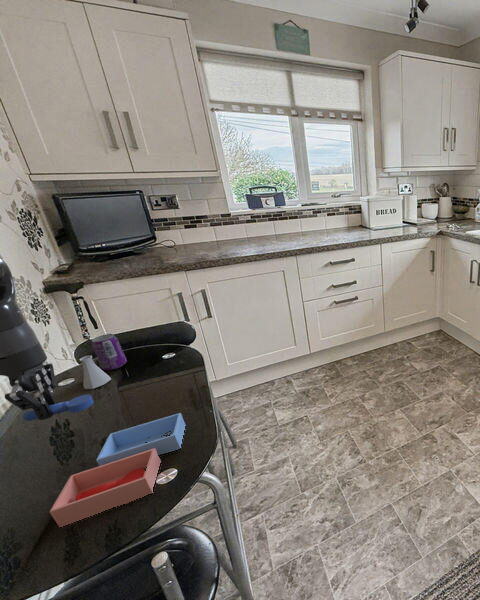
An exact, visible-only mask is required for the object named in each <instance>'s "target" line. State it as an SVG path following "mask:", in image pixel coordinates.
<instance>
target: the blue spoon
mask: <svg viewBox="0 0 480 600" xmlns="http://www.w3.org/2000/svg"><path fill="white" fill-rule="evenodd" d="M94 403H95V401H94V399H93V397H92V395H91V394H82V395H79V396H75V397H74V398H71V399H69V401H61V402H57V404H54V405H50V406H49V407H50V409H51V411H52V413H53V416H54V415H57V414H61V413H65V412H68V413H70V414H76V413H79V412H82V411H85V410H88V408H89V409H90V407H91V406H93V405H94ZM22 419H23V420H24V421H26V422H29V421H34V420H39V419H38V417H37V415H36V414H35V412H34V410H33V409H29V410H27V411H25V412H24V413H23V414H22Z"/></svg>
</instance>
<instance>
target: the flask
mask: <svg viewBox="0 0 480 600" xmlns="http://www.w3.org/2000/svg"><path fill="white" fill-rule="evenodd" d="M79 362H80V363H81V364H82V368H83V383H82V384H83V385H82V386H83V389H84V390H95V389H96V388H99V387H102V386H103V385H105V384H107V383H109V382H110V381H112V378H111V377H110V375H108V373H106V372H104V370H103V369H101V368H100V367H99V366H98V365H97V364H96V363H95V362H94V360H93V356H92V354H91V355H86V356H83V357H81V358H79Z"/></svg>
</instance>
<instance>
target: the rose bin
mask: <svg viewBox="0 0 480 600" xmlns="http://www.w3.org/2000/svg"><path fill="white" fill-rule="evenodd" d="M161 462H162V460H161V458H160V457H159V456H158V453H157V451H156V449H155V448H154V449H151V450H148V451H145V452H141V453H138V454H135V455H132V456H129V457H126V458H123V459H120V460H117V461H114V462H111V463H108V464H105V465H102V466H99V465H98V466H95V467H92V468H90V469H86V470H82V471H80V472H78V473H74V474H71V475H69V478H68V479H67V481H66V483H65V485H64V487H63V488H62V490H61V492H60V493H59V495H58V497H56V500H55V501H54V503H53V505H52V507H51V508H50V510H49V514H50V515H51V517H52V518H53V520H54V521H55V522H56V524H57V526H58V527H59V528H60V527H62V528H64V527H63V526H65V525H68V524H70V525H72V524H71V523H73V522H76V521H79V520H81V521H83V520H82V519H84V518H87V517H89V518H91V517H90V516H92V517H94V516H93V515H95V514H97V515H99V514H98V513H100V514H102V513H101V512H103V511H105V510H108V509H111V508H113V507H116V508H118V507H117V506H119V507H121V506H120V505H122V506H124V505H123V504H125V505H128V504H130V503H132V502H131V501H133V502H135V501H137V500H136V499H138V500H140V499H139V498H141V499H143V498H142V497H144V496H146V495H148V494H151V493H153V494H154V492H153V487H154V484H155V480H156V477H157V473H158V470H159V466H160V463H161ZM146 467H147V468H146ZM143 468H146V471H145V474H144V477H143V478H140V479H137V480H135V481H132V482H129V483H126V484H123V485H120V486H117V487H115V488H112V489H109V490H106V491H103V492H100V493H97V494H95V495H92V496H89V497H86V498H83V499H80V500H77V501H76V497H77V495H78V494H79V493H81V492H83V491H86V490H89V489H92V488H95V487H97V486H100V485H103V484H106V483H109V482H112V481H115V480H118V479H122V478H123V477H124V476H125V475H127V474H128V473H130V472H131V471H133V470H136V469H143ZM146 497H147V496H146ZM144 498H145V497H144ZM134 500H135V501H134ZM129 502H130V503H129ZM111 510H112V509H111ZM108 511H109V510H108ZM103 513H104V512H103ZM95 516H96V515H95ZM87 519H88V518H87ZM84 520H85V519H84ZM79 522H80V521H79ZM76 523H77V522H76ZM73 524H74V523H73ZM68 526H69V525H68ZM65 527H66V526H65Z"/></svg>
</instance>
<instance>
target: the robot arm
mask: <svg viewBox="0 0 480 600" xmlns="http://www.w3.org/2000/svg"><path fill="white" fill-rule="evenodd" d="M16 294H17V293H16V288H15V282H14V277H13V274H12V270H11V269H10V267H9V265H8V264H7V262H6V261H5V260H4V259H3V258H2V257H0V376H3V377H6V378H8V381H9V386H10V387H11V391H10V392H8V393H5V394H4V399H5V400H6V401H7V402H10V403H11V404H13V405H14V406H16V408H19V409H20V410H22V411H26V410H34V412H35V414H36V415H37V417H38V419H37V420H39V421H43V420H48V419H51V418H52V417H53V416H54V415H53V413H52V411H51V409H50V407H49V406H50V405H54V404H58V402H57V401H56V399H55V397H54V394H55V391H54V389H55V390H56V388H57V381H56V375H55V369H54V364H53V363H52V362H51V363H46V364H44V363H45V362H46V361H47V360H48V356H47V354H46V352H45V350H44V348H43V346H42V344H41V343H40V340H39V338H38V336H37V335H36V333H35V331H34V330H33V327H31V326H30V324H29V323H28V321H27V319H26V317H25V316H24V314H23V312H22V310H21V309H22V308H20V306H19V304H18V302H17V295H16ZM35 397H36V398H35Z"/></svg>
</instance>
